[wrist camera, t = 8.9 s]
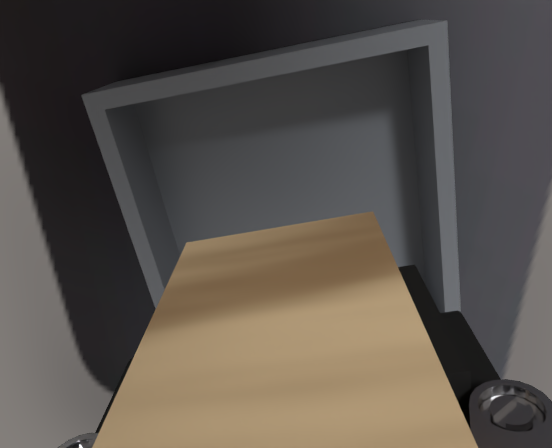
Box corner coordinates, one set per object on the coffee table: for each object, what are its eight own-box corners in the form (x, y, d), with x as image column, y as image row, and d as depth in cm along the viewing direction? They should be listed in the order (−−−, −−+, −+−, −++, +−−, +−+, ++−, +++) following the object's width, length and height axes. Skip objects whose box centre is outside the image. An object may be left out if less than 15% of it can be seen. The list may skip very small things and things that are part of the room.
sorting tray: (116, 81, 19) (81, 95, 16) (418, 19, 18) (447, 20, 14) (195, 332, 24) (181, 382, 20) (437, 296, 22) (462, 343, 19)
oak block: (186, 242, 13) (47, 544, 5) (372, 211, 12) (499, 495, 5) (228, 386, 15) (168, 755, 7) (391, 364, 14) (503, 734, 7)
